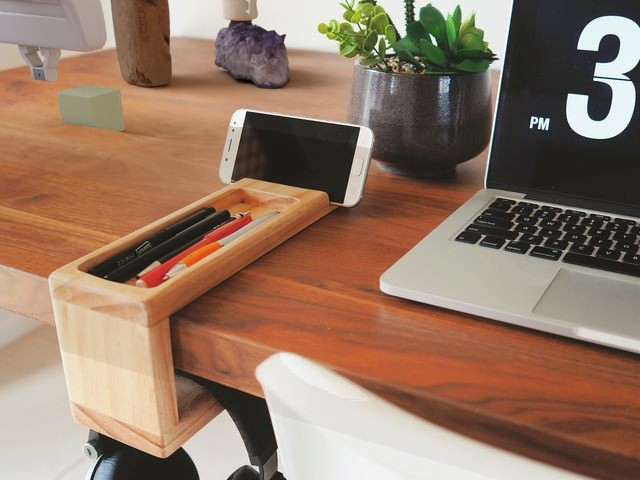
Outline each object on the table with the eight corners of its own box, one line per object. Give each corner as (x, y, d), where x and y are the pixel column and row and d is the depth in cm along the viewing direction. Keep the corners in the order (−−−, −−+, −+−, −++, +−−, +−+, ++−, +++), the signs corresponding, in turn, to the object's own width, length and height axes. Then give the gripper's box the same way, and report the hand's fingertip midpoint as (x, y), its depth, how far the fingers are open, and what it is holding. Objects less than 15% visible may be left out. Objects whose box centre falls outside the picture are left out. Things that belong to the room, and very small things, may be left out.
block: (117, 78, 126) (100, -48, 116) (159, 74, 129) (146, -48, 120) (137, 90, 118) (121, -43, 109) (181, 86, 121) (169, -44, 112)
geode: (315, 85, 125) (308, 26, 119) (253, 100, 120) (243, 39, 115) (267, 59, 140) (260, 6, 135) (211, 72, 135) (201, 17, 130)
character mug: (269, 55, 148) (267, -13, 142) (238, 58, 144) (234, -12, 139) (246, 47, 156) (243, -18, 150) (215, 49, 152) (211, -17, 146)
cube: (63, 134, 95) (56, 92, 92) (93, 124, 99) (87, 84, 97) (97, 140, 93) (90, 97, 90) (125, 129, 97) (120, 88, 95)
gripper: (-58, -35, 91) (-32, 77, 97) (67, -26, 84) (87, 93, 90) (-16, -38, 96) (6, 68, 102) (105, -30, 89) (121, 83, 95)
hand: (45, 80), depth 96 cm, fingers closed
